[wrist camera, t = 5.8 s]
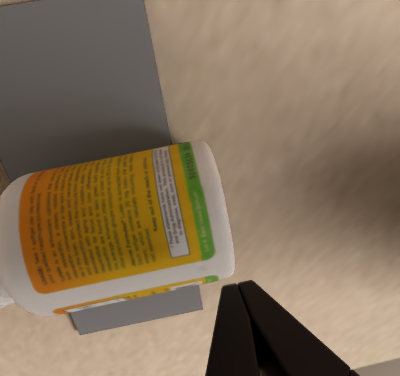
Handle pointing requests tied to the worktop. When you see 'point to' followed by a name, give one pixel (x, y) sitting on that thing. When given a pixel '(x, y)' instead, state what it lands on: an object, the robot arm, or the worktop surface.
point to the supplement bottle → (114, 230)
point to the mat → (83, 109)
